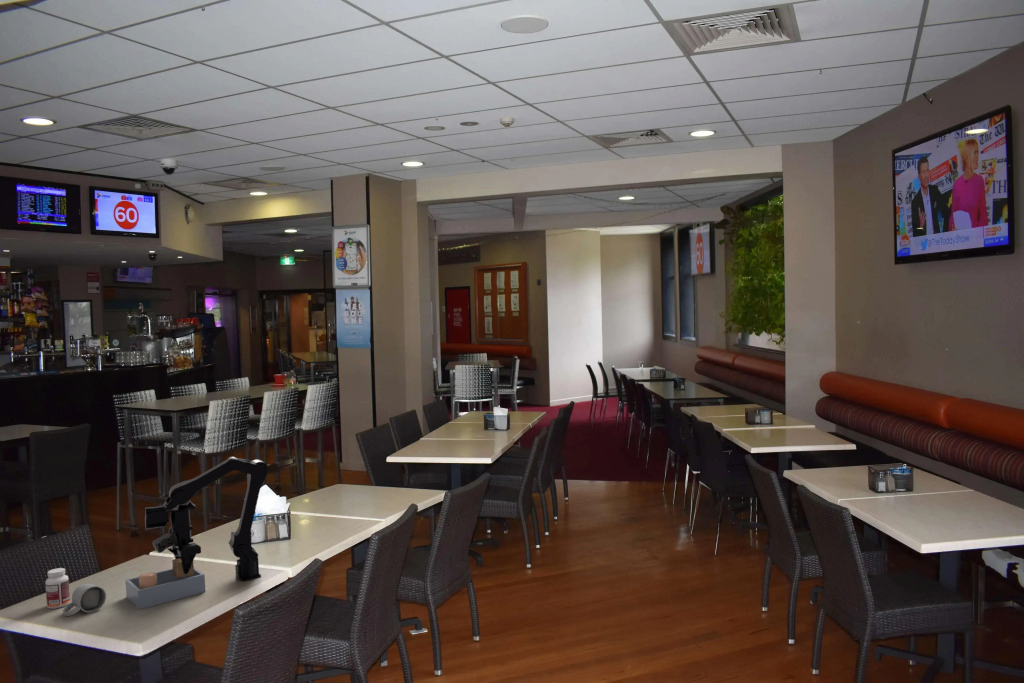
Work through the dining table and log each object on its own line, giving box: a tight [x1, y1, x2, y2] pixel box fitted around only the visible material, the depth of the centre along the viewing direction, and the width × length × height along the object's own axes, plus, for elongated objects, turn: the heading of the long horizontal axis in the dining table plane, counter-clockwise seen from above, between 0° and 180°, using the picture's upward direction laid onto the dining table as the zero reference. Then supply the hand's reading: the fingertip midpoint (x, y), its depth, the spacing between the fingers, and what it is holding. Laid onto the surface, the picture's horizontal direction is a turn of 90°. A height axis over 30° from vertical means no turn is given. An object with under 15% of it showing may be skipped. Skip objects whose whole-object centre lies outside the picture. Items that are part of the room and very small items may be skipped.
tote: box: [125, 567, 206, 610], centre depth 234 cm, size 20×15×6 cm
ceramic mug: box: [62, 583, 107, 617], centre depth 223 cm, size 11×8×8 cm
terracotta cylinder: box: [138, 571, 157, 590], centre depth 230 cm, size 5×5×7 cm
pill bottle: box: [44, 567, 71, 610], centre depth 228 cm, size 6×6×11 cm
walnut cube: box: [171, 558, 195, 579], centre depth 237 cm, size 5×5×5 cm
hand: (183, 571), depth 237 cm, fingers closed on walnut cube, 5 cm apart
